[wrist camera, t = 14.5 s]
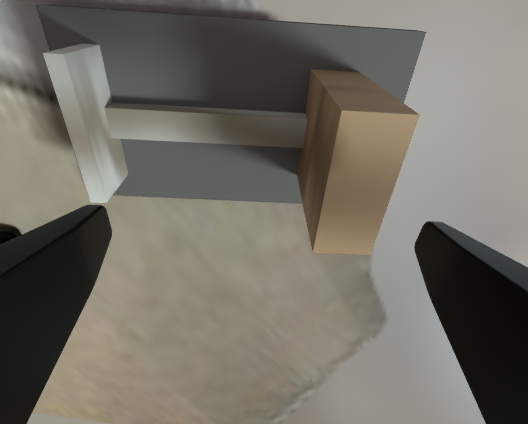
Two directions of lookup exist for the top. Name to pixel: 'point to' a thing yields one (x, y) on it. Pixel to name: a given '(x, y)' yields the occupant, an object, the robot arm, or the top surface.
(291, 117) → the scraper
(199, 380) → the top surface
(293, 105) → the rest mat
